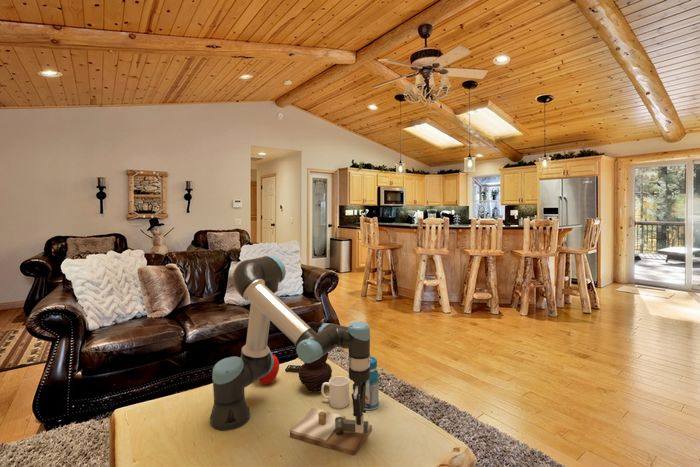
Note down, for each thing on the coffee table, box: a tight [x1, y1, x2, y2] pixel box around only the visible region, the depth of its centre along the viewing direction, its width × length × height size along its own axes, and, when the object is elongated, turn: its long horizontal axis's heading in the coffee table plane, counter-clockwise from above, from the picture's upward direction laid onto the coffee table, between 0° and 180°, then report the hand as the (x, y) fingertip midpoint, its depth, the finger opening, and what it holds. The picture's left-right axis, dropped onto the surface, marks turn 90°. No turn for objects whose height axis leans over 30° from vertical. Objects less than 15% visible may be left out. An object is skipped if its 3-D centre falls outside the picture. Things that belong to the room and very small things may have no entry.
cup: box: [320, 375, 350, 409], centre depth 161 cm, size 8×12×10 cm
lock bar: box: [335, 417, 370, 435], centre depth 138 cm, size 12×3×5 cm, turn 80°
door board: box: [289, 407, 373, 456], centre depth 141 cm, size 26×16×7 cm, turn 65°
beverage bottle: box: [364, 356, 380, 411], centre depth 159 cm, size 8×8×20 cm
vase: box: [297, 321, 333, 393], centre depth 173 cm, size 15×15×30 cm
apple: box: [258, 354, 280, 385], centre depth 181 cm, size 12×12×13 cm
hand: (359, 431), depth 135 cm, fingers closed
